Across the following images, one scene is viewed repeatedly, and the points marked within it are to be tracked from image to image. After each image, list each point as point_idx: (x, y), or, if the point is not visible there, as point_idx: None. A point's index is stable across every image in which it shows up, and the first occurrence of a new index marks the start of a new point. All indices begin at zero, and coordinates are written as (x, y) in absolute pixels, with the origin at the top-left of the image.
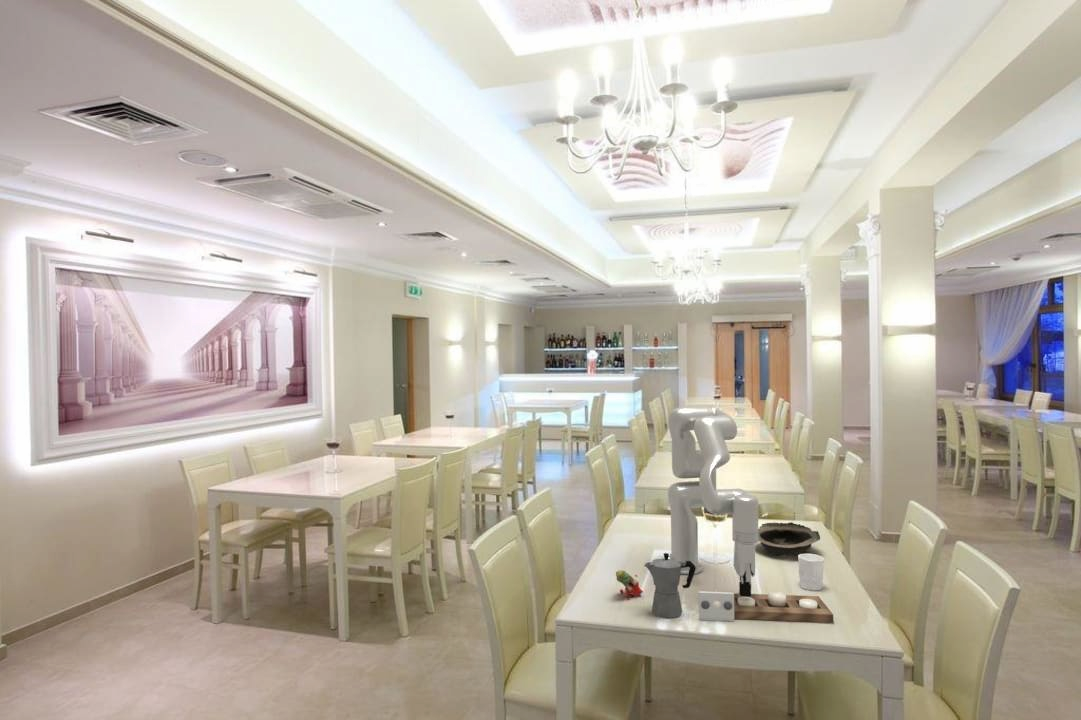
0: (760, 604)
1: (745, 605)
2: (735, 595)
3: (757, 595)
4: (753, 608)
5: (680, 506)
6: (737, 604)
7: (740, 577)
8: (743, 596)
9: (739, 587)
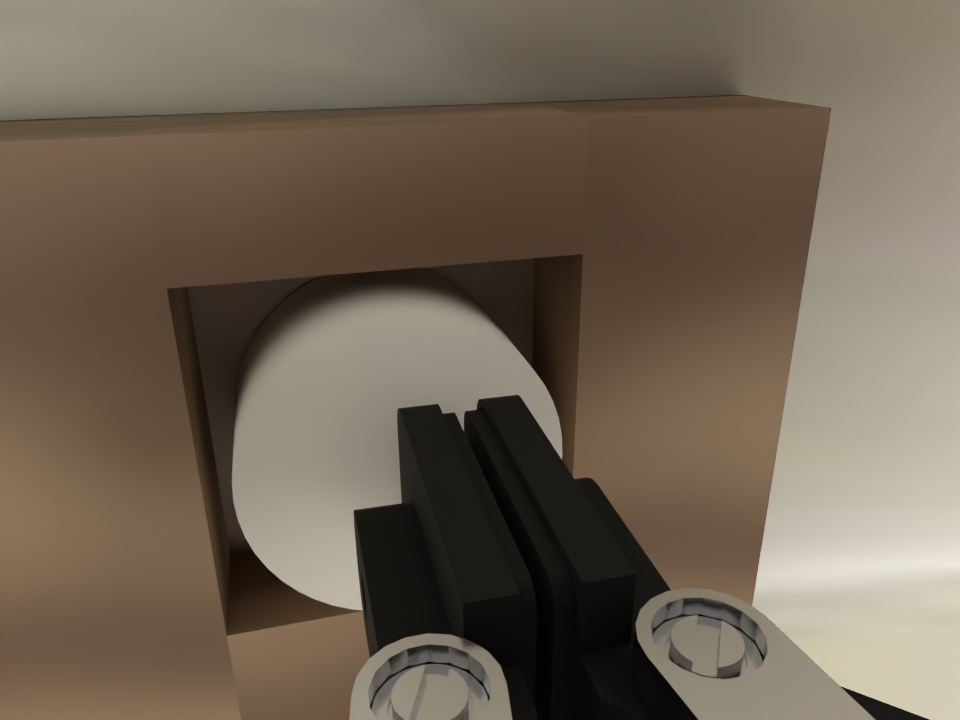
0: (325, 657)
1: (237, 429)
2: (701, 284)
3: None
4: (81, 563)
5: None
6: (538, 273)
7: (686, 717)
8: (656, 416)
9: (537, 475)
